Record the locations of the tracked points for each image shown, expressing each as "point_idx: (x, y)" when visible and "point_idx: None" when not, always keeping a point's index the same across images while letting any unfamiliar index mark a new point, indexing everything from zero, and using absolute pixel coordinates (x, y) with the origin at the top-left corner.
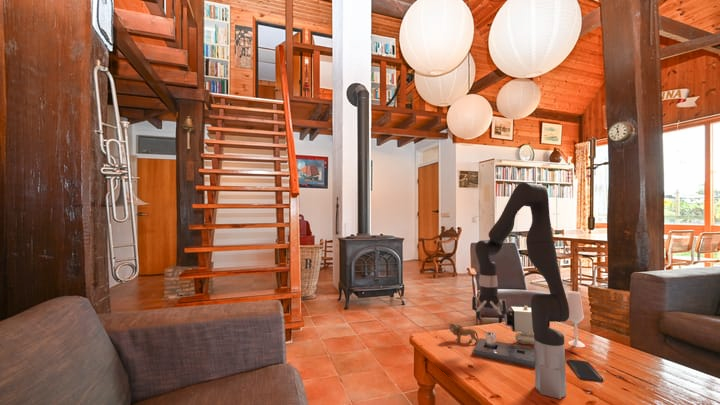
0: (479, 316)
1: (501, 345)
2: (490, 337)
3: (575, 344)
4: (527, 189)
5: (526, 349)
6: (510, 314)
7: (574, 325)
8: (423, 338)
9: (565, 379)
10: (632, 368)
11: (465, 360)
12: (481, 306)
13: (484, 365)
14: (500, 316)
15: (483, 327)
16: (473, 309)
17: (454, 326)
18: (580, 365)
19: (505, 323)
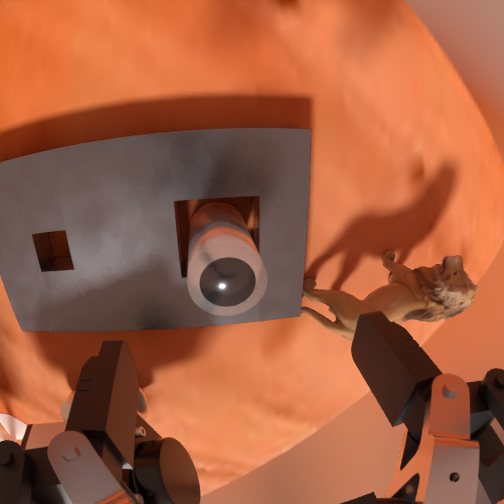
0: (387, 340)
1: (163, 284)
2: (217, 239)
3: (9, 421)
4: None
5: (46, 300)
6: (142, 498)
7: None
8: (495, 213)
9: None
10: None
11: (322, 43)
12: (451, 468)
13: (215, 28)
14: (87, 417)
15: (295, 433)
16: (493, 372)
17: (455, 282)
18: None
19: (185, 452)
